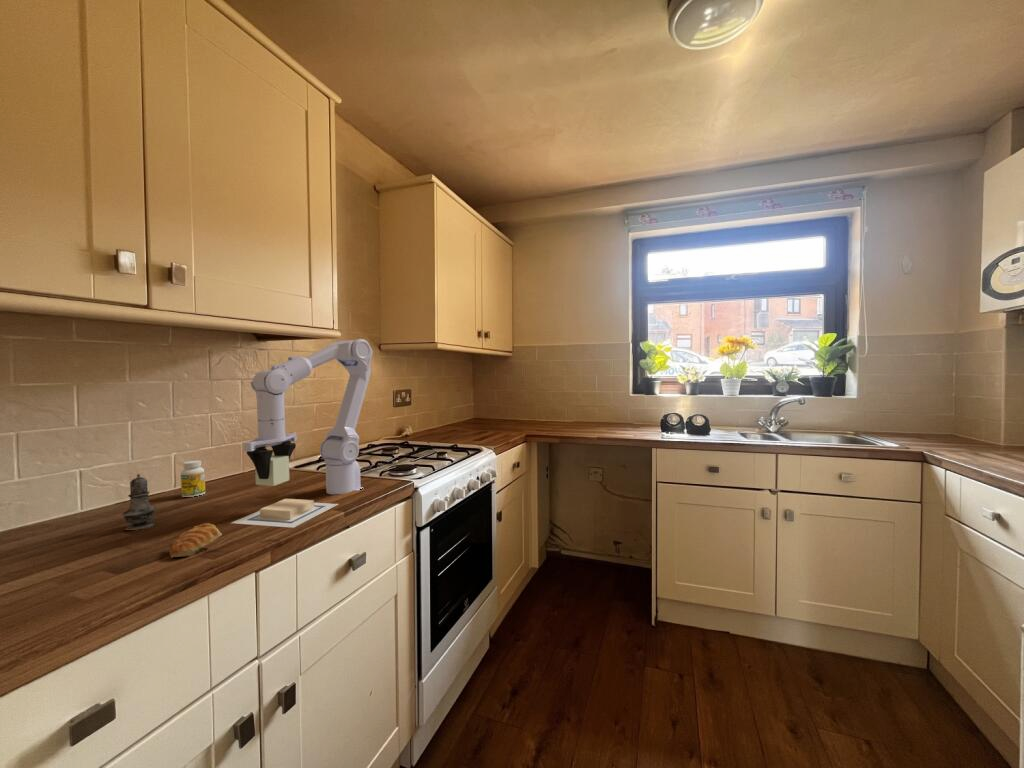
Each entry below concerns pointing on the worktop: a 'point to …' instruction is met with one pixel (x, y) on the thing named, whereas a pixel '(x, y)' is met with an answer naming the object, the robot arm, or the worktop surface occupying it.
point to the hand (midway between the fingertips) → (273, 475)
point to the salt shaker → (139, 505)
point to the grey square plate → (256, 520)
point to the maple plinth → (287, 509)
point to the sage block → (276, 471)
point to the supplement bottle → (192, 479)
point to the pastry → (194, 540)
